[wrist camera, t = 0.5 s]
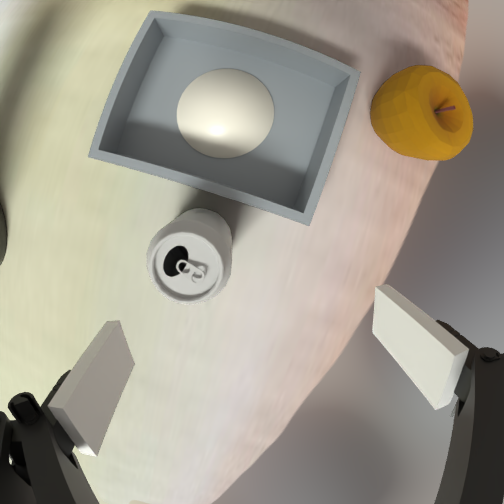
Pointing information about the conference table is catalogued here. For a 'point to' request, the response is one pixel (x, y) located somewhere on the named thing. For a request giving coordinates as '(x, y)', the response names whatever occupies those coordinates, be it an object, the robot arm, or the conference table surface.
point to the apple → (422, 114)
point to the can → (191, 257)
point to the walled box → (227, 112)
